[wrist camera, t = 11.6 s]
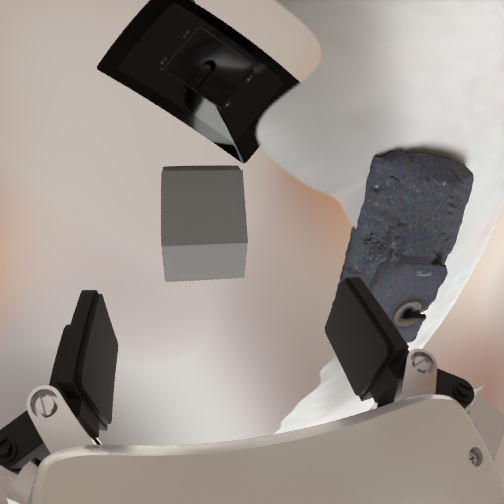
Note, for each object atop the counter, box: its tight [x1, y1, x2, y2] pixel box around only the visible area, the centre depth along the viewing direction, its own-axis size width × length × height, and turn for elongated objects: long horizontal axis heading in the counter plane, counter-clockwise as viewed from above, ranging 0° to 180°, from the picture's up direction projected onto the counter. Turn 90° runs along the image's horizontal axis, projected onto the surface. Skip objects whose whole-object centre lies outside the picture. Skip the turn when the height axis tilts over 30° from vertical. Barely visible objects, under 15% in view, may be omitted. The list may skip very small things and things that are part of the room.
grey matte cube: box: [161, 166, 248, 282], centre depth 18 cm, size 5×6×5 cm
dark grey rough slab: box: [332, 151, 473, 343], centre depth 26 cm, size 15×22×5 cm
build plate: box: [97, 0, 300, 163], centre depth 14 cm, size 12×7×5 cm, turn 50°
